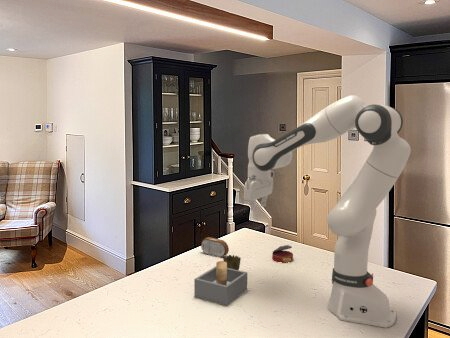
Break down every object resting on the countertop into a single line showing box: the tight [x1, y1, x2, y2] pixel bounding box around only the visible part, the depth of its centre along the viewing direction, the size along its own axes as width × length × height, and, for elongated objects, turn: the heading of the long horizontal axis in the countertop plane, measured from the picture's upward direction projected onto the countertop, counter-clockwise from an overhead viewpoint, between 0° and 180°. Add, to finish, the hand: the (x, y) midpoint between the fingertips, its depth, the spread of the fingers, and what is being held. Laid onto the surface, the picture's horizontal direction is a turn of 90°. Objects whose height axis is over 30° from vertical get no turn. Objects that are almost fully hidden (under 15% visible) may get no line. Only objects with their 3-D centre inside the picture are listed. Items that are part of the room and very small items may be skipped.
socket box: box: [193, 265, 248, 307], centre depth 149 cm, size 14×16×7 cm
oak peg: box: [215, 260, 227, 285], centre depth 149 cm, size 4×4×12 cm
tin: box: [200, 236, 230, 258], centre depth 192 cm, size 15×3×8 cm, turn 58°
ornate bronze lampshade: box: [222, 254, 242, 271], centre depth 166 cm, size 8×7×8 cm
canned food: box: [271, 244, 294, 264], centre depth 186 cm, size 11×10×10 cm
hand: (258, 208), depth 158 cm, fingers open, 8 cm apart
